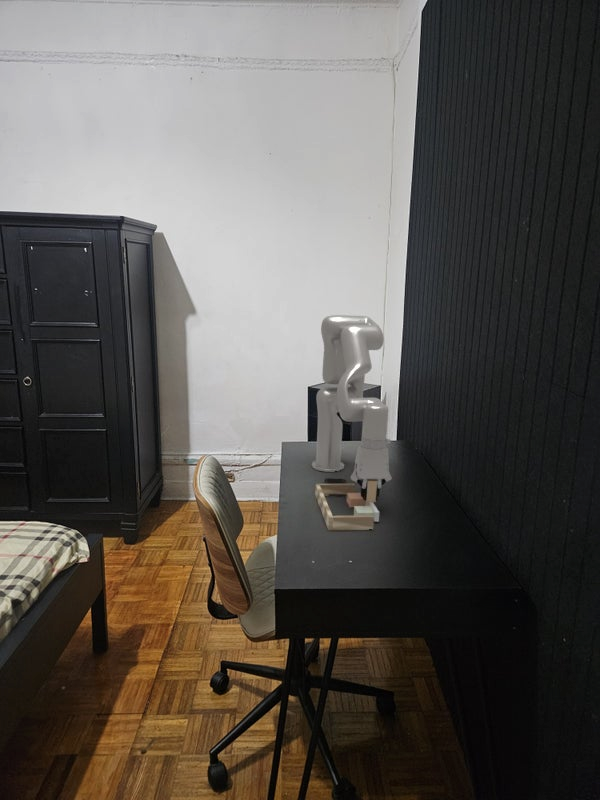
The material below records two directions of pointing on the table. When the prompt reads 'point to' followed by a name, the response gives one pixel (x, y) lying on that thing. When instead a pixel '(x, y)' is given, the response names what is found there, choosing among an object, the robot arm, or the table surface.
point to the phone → (335, 481)
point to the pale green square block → (363, 510)
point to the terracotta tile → (355, 499)
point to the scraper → (372, 497)
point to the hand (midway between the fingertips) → (369, 498)
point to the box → (341, 521)
